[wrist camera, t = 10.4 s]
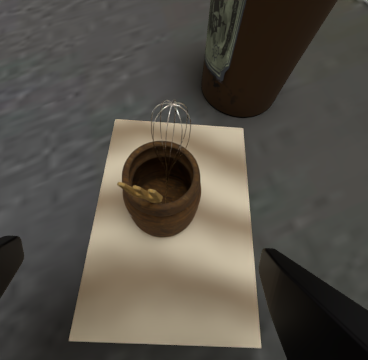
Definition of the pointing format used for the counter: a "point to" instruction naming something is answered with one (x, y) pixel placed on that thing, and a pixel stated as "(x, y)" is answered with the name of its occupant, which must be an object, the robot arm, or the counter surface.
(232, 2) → the olive oil
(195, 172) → the utensil holder
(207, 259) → the birch board
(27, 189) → the counter surface
